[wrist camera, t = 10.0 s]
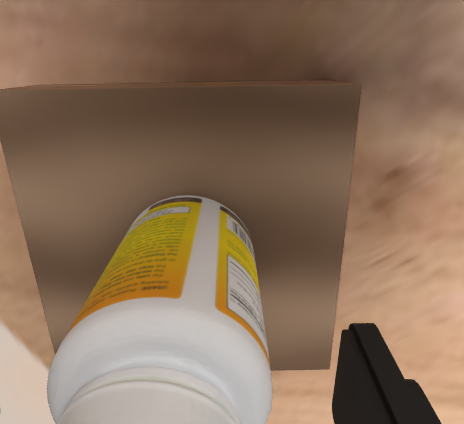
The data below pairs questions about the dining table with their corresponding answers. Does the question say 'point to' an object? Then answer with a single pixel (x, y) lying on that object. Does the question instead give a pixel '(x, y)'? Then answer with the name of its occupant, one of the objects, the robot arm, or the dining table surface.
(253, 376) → the supplement bottle
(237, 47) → the dining table surface
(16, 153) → the walnut base
